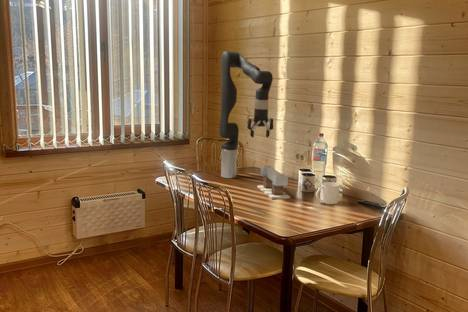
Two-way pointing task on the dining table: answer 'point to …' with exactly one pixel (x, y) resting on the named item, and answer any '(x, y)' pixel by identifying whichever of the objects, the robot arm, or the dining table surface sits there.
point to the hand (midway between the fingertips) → (259, 137)
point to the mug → (328, 193)
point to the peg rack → (272, 190)
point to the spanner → (274, 176)
